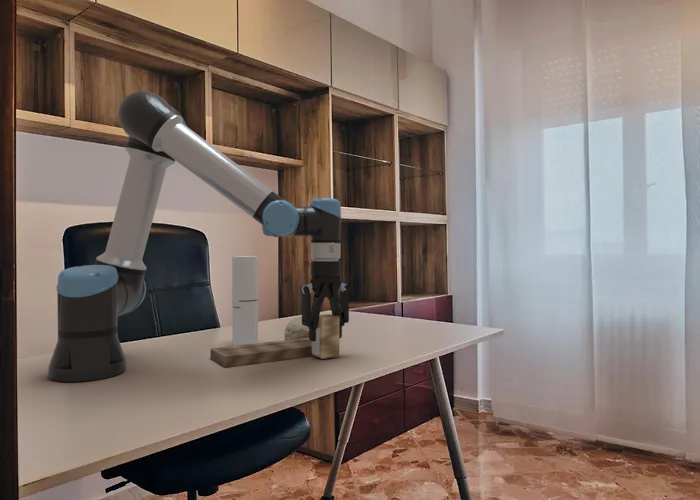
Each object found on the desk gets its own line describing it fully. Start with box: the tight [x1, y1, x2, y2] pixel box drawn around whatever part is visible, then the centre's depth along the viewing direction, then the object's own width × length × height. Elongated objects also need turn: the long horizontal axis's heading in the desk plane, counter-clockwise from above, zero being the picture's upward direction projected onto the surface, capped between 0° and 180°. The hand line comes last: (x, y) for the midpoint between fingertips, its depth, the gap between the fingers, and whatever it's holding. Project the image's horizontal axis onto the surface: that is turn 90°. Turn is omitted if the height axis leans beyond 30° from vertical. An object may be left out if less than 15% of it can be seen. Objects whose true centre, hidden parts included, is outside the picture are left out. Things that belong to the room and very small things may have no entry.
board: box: [210, 338, 315, 369], centre depth 128 cm, size 30×11×3 cm, turn 123°
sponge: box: [283, 316, 309, 340], centre depth 145 cm, size 9×10×10 cm
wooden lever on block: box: [302, 313, 340, 360], centre depth 130 cm, size 5×14×10 cm, turn 33°
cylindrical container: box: [231, 255, 259, 346], centre depth 143 cm, size 7×7×25 cm
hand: (325, 352), depth 127 cm, fingers closed on wooden lever on block, 5 cm apart
